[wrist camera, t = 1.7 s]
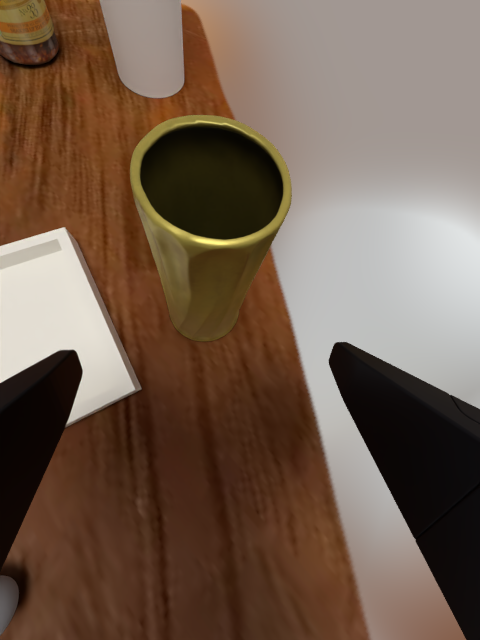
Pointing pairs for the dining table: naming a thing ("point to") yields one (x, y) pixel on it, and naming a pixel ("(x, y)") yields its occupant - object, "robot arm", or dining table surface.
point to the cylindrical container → (147, 44)
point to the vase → (208, 215)
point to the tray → (60, 319)
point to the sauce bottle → (26, 32)
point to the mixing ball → (7, 600)
